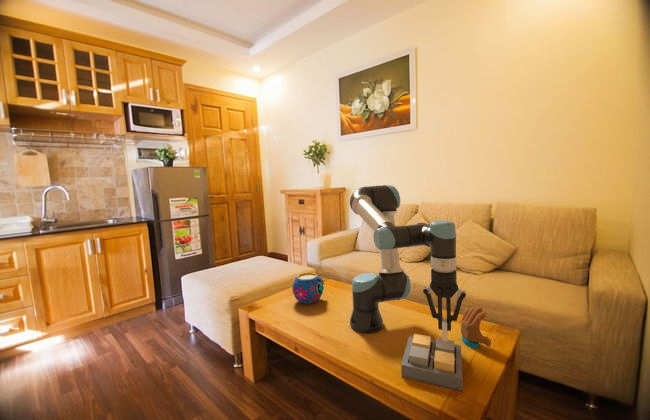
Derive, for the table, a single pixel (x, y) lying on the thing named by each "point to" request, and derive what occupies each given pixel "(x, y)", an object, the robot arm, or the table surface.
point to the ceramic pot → (308, 287)
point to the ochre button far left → (422, 341)
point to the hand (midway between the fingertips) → (445, 338)
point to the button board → (431, 374)
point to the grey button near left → (419, 356)
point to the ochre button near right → (444, 361)
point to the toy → (473, 328)
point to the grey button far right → (445, 345)
